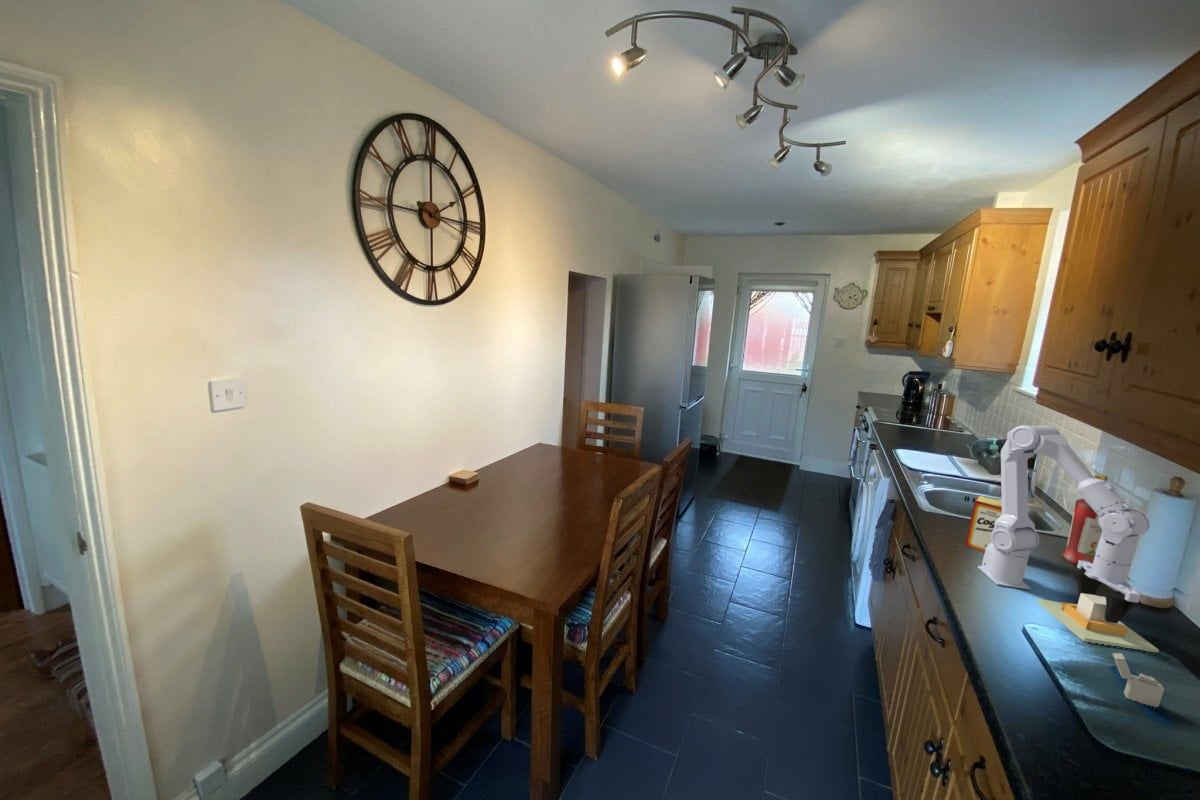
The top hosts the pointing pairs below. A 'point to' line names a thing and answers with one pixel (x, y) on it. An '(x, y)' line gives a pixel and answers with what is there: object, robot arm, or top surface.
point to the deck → (1095, 627)
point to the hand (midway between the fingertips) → (1097, 611)
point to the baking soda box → (983, 522)
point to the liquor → (1083, 532)
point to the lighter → (1139, 684)
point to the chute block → (1092, 607)
